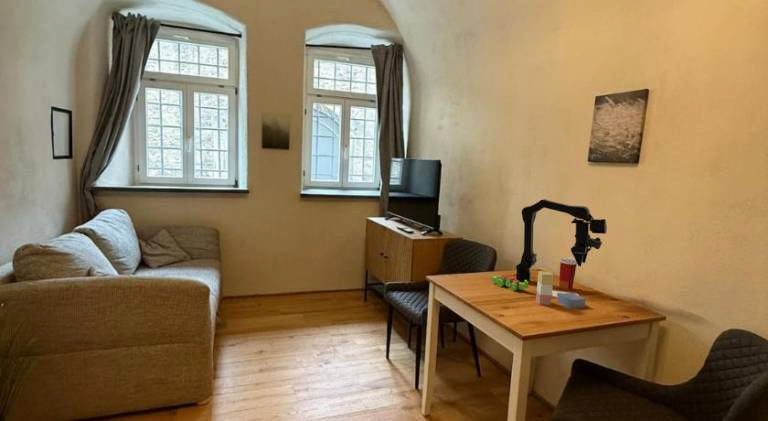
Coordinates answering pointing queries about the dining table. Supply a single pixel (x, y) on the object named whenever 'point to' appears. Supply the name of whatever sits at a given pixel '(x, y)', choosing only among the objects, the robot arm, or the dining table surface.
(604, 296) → the dining table surface
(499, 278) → the green bumpy elongated piece
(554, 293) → the page
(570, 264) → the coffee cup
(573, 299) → the base brick
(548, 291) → the brick column
